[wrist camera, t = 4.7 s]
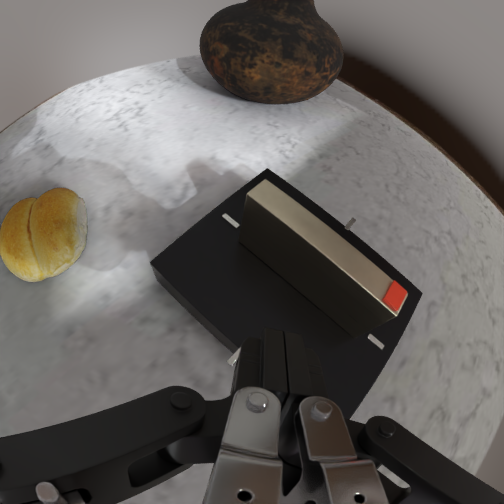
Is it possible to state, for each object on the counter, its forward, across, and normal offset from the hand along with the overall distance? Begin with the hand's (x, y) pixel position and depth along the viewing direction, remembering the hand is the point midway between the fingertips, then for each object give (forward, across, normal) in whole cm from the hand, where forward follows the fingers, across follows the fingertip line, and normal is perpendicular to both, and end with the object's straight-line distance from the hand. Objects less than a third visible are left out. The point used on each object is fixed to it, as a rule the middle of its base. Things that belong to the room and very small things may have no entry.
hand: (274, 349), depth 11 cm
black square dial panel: (+10, -2, +2) cm, 11 cm away
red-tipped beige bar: (+8, -2, 0) cm, 8 cm away
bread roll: (+10, +19, +2) cm, 22 cm away
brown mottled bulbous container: (+30, +5, -18) cm, 35 cm away
